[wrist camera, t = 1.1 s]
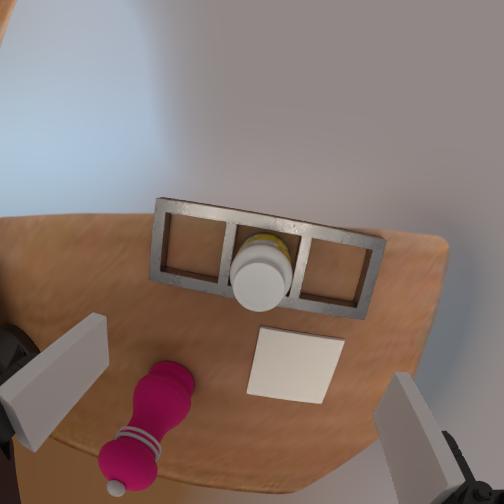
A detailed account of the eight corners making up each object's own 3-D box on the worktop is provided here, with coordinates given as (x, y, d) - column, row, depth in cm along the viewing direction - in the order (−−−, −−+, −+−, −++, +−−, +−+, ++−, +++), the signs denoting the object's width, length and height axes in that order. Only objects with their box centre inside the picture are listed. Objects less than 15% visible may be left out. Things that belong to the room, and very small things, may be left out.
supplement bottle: (242, 228, 31) (226, 248, 22) (293, 234, 31) (299, 257, 22) (237, 277, 33) (221, 314, 23) (286, 283, 32) (289, 323, 23)
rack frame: (154, 275, 33) (148, 279, 32) (162, 197, 31) (156, 198, 30) (360, 313, 32) (364, 320, 31) (380, 237, 30) (386, 240, 28)
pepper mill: (145, 387, 38) (82, 491, 18) (151, 349, 36) (72, 459, 17) (193, 405, 38) (148, 521, 18) (203, 368, 36) (151, 496, 16)
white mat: (246, 390, 36) (246, 393, 35) (260, 325, 34) (260, 327, 33) (320, 400, 36) (321, 403, 35) (343, 338, 33) (344, 341, 33)
